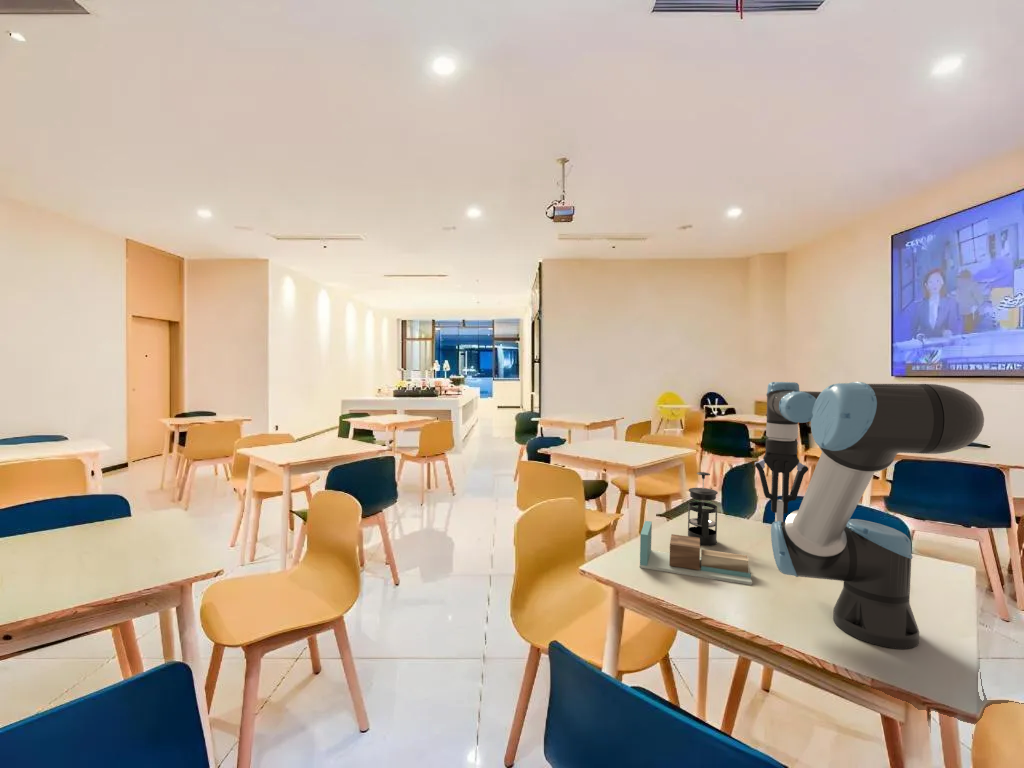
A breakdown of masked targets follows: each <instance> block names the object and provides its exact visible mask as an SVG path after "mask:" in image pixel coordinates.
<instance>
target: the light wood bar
mask: <svg viewBox="0 0 1024 768" xmlns="http://www.w3.org/2000/svg"><path fill="white" fill-rule="evenodd" d="M700 557H701V566H705V567H712V568H719V569H725V570H732V571H739V572H746V573H748V569H749V558H748V555H745V554H739V553H730V552H724V551H723V552H722V551H717V550H710V549H702V548H700Z"/></svg>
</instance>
